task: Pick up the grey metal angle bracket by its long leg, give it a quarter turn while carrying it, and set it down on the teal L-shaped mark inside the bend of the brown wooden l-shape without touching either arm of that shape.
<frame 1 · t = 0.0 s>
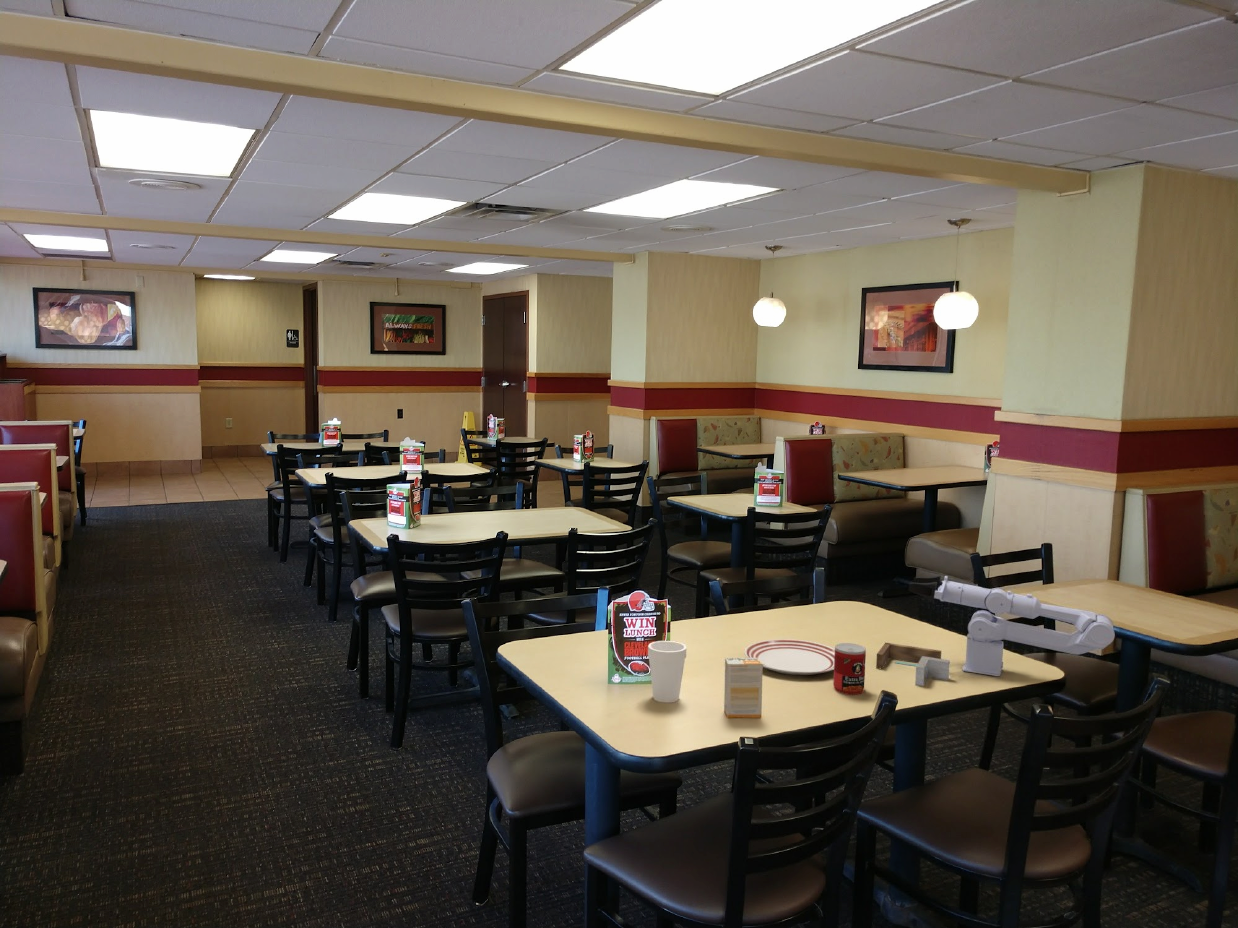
hand: (911, 583, 252), 22 cm above the table, tool horizontal, fingers open, 7 cm apart
canned food: (848, 690, 228), on the table
pose mark: (931, 666, 247), on the table
bracket: (921, 674, 241), on the table
dinner plate: (794, 665, 247), on the table
supplement box: (742, 715, 209), on the table
brown wooden l-shape: (886, 657, 255), on the table
foam cup: (666, 698, 219), on the table
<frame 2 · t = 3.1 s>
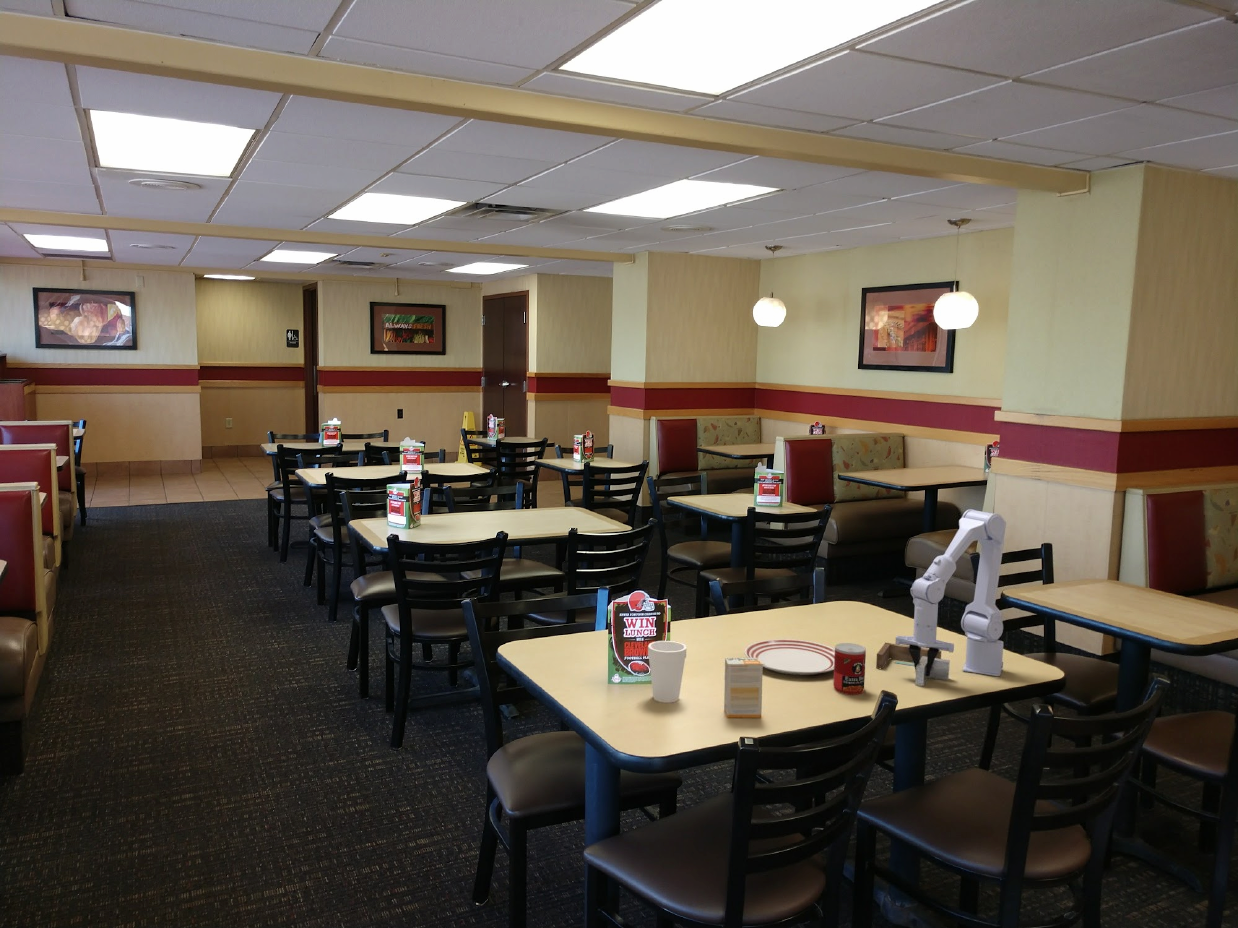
hand: (922, 674, 236), 1 cm above the table, tool pointing down, fingers closed on bracket
bracket: (921, 674, 241), on the table, touching gripper
everything else where it was.
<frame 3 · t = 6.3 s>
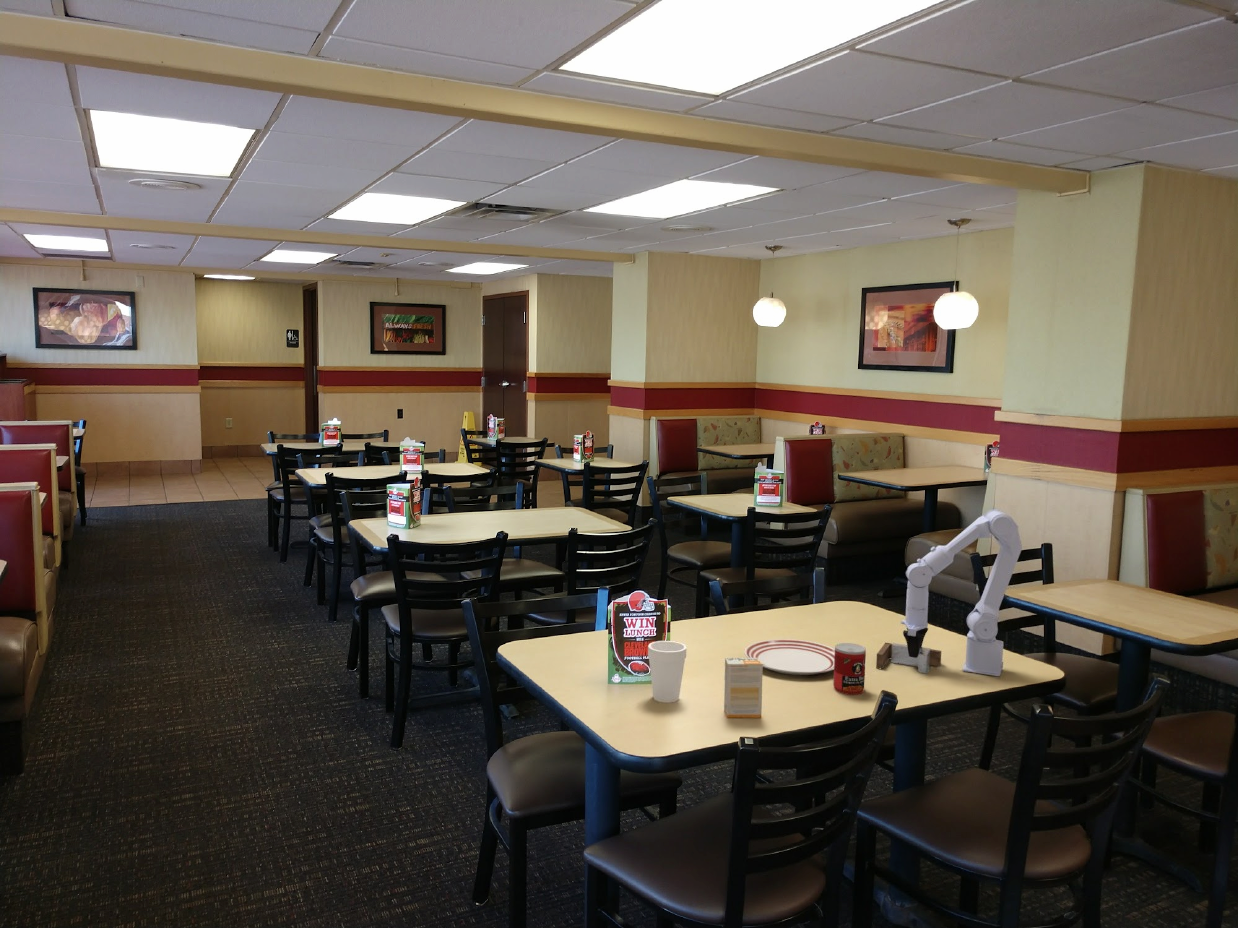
hand: (914, 654, 248), 3 cm above the table, tool pointing down, fingers open, 4 cm apart
bracket: (929, 665, 247), on the table, touching pose mark
everything else where it was.
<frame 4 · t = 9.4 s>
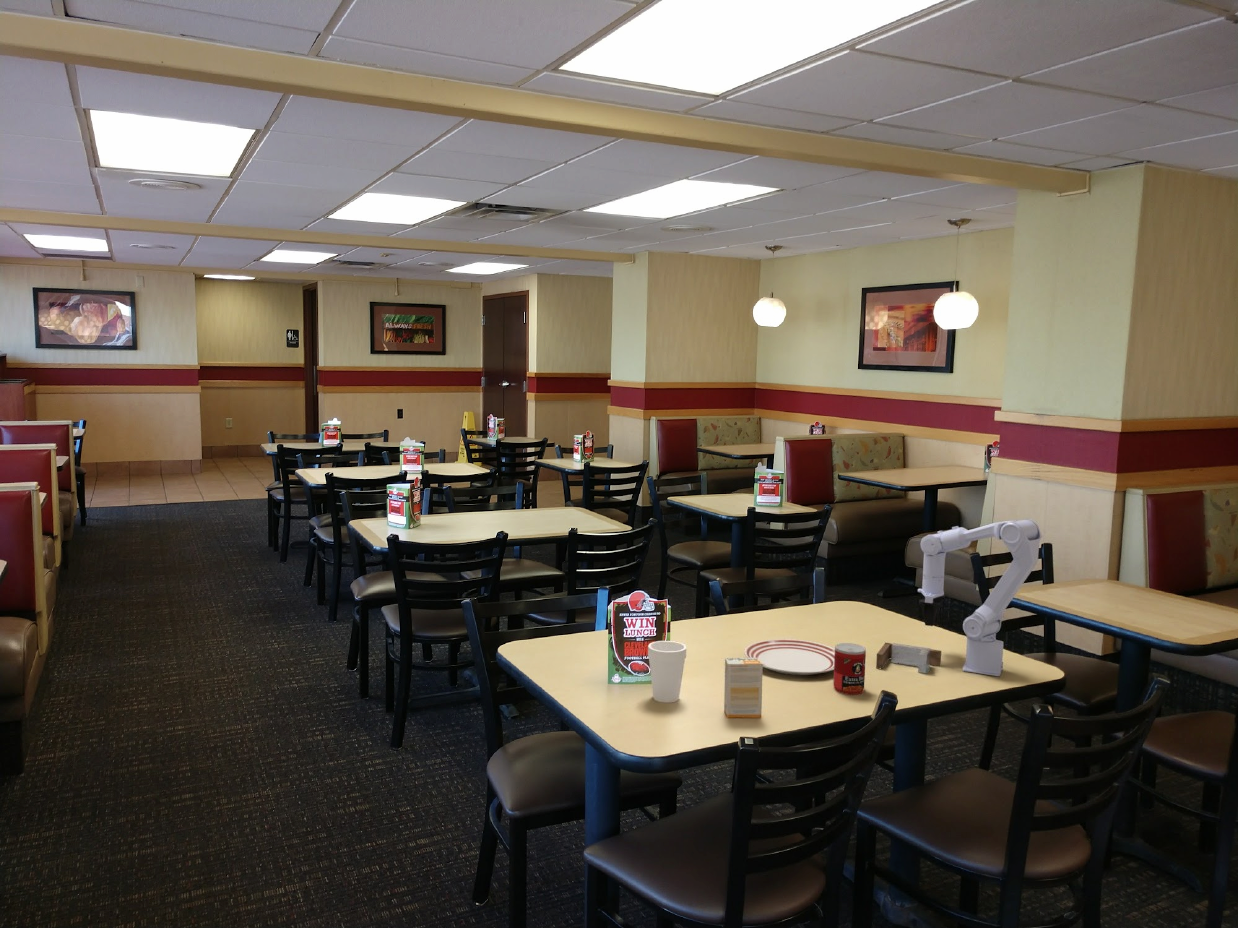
hand: (931, 622, 256), 10 cm above the table, tool pointing down, fingers open, 7 cm apart
nothing on the table moved.
at the end: bracket 0.5 cm from the target spot, on the table; bracket touching pose mark; bracket tilted 0° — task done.
